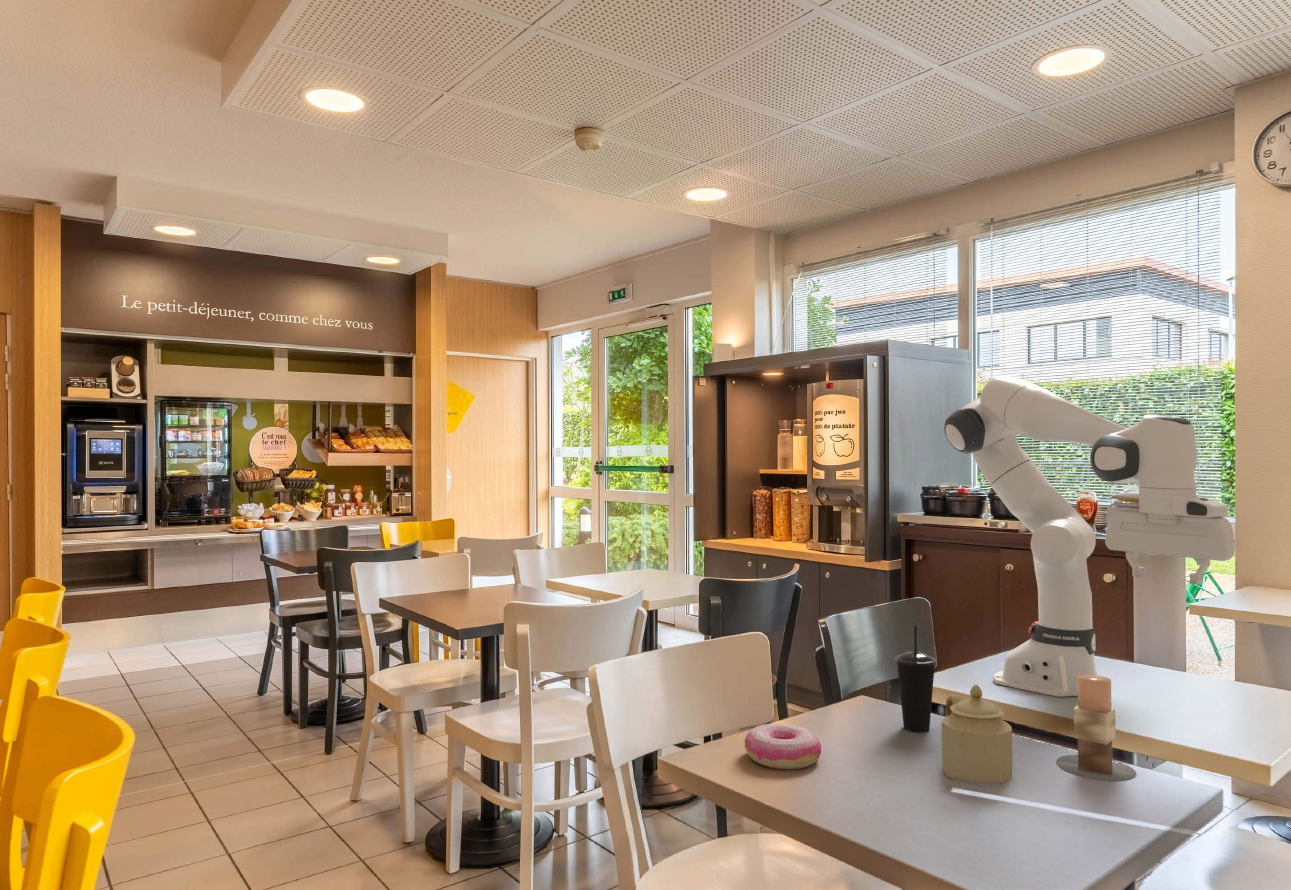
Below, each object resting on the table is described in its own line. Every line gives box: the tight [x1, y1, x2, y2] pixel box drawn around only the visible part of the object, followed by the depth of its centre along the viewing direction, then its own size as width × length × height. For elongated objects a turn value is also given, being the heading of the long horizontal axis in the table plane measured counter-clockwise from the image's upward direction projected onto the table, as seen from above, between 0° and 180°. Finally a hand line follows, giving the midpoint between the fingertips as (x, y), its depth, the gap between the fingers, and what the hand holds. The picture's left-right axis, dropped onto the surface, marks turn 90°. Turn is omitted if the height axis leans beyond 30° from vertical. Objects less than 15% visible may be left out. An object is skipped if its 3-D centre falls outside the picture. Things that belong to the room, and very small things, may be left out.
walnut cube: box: [1077, 739, 1113, 775], centre depth 140 cm, size 5×5×5 cm
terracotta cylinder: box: [1077, 674, 1112, 713], centre depth 140 cm, size 5×5×5 cm
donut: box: [744, 722, 822, 770], centre depth 147 cm, size 14×13×5 cm
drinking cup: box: [894, 625, 937, 733], centre depth 163 cm, size 8×8×20 cm
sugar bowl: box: [941, 684, 1013, 784], centre depth 141 cm, size 15×11×15 cm
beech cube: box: [1073, 705, 1116, 745], centre depth 140 cm, size 5×5×5 cm
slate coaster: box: [1055, 754, 1138, 782], centre depth 140 cm, size 12×12×1 cm
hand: (1166, 580), depth 150 cm, fingers open, 8 cm apart
